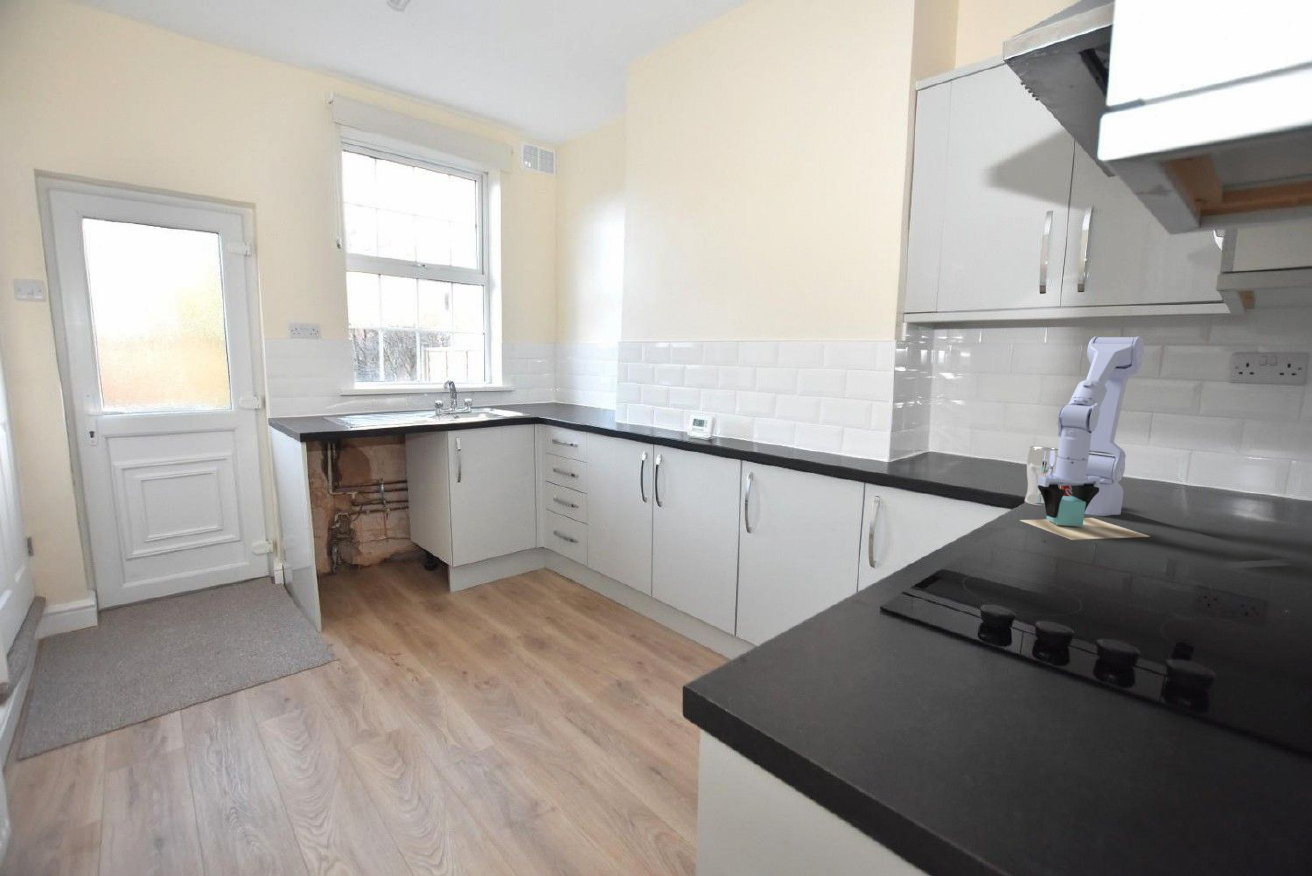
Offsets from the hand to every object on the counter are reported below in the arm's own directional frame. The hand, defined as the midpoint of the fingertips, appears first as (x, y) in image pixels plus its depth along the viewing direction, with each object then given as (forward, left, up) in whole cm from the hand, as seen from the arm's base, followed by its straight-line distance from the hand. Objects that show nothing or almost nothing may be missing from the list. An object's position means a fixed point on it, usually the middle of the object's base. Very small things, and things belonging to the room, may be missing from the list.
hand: (1064, 516), depth 134 cm
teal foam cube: (0, 0, -1) cm, 1 cm away
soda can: (-23, -23, -3) cm, 33 cm away
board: (-2, +3, -3) cm, 5 cm away
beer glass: (-13, -21, -3) cm, 25 cm away
